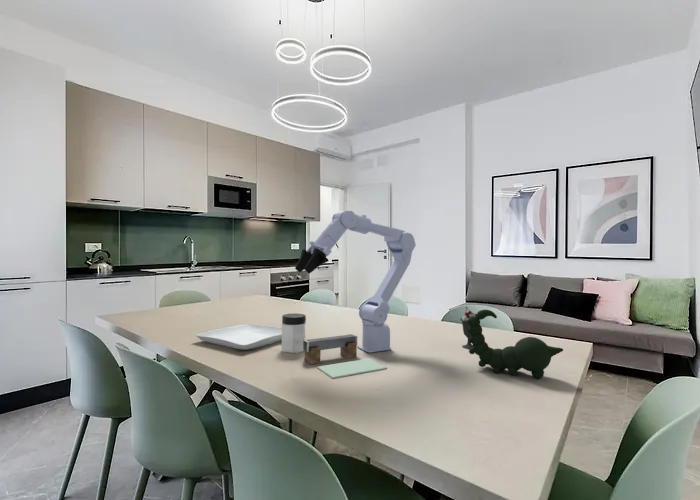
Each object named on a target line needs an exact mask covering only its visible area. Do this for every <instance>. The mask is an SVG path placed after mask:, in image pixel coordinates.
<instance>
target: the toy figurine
mask: <svg viewBox="0 0 700 500" xmlns="http://www.w3.org/2000/svg"><path fill="white" fill-rule="evenodd" d="M476 314H477V315H476V316H472V317H470V318H469V320H467V323H468V324H469V325H470V326H469V328H468V329H467V331H468V333H470V334H471V336H470V338H469V339H468V338H467V342H469V343H471V344H472V345H473V346H472V348H471V349H468V353H469V354H470V355H474V354H475V355H476V356H478V357H479V360H478V366H479V367H481V368H484V367H486V365H487V366H490V368H492V371H493V373H495V374H499V373H500V372H501V371H505V370H507V372H508V374H509V375H513V376H516V375H517V374H518V371H519V370H521V369H523V370H525V371H527V372H531V373H530V374H531V376H532V377H533V378H535V379H538V380H540V379H542V378H543V377H544V375H545V369H546V368H548V367H549V365H550V363H551V361H552V357H554V356H556V355H558V354H560V353H562V352H564V349H563V348H561V347H557V346H550V345H548V344H547V343H546V342H544V340H542V339H540V338H538V337H533V336H526V337H522V338H521V339H519V340H518V341H517V342H516V343H515V345H514V346H513V345H509V346H508V345H507V346H506V347H504V348H493V347H489V344H488V342H486V339H485V338H486V337H485V335H484V334H483V327H482V326H481V320H484V319H485V318H487V317H493V319H498V315H497V314H495V312H493V311H492V310H490V309H481V310H479V311H478V312H477V313H476Z"/></svg>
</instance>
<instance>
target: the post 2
mask: <svg viewBox="0 0 700 500" xmlns="http://www.w3.org/2000/svg"><path fill="white" fill-rule="evenodd" d="M339 349H340V353H339V354H340V355H342V356H343V357H345V358H347V359H354V358H357V356H358V355H357V354H358V353H357V352H358V351H357V349H358V342H357V343H356V342H354V343H348V347H340V348H339Z"/></svg>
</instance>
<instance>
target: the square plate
mask: <svg viewBox="0 0 700 500" xmlns="http://www.w3.org/2000/svg"><path fill="white" fill-rule="evenodd" d="M194 336H195V337H197V339H199V340H201V341H204V342H205V343H209V344H213V345H217V346H223V347H226V348H232V349H235V350H241V351H242V350H253V349H257V348H260V347H264V346H267V344H268V345H271V344H274V342H275V343H278V342H282V327H279V326H273V325H266V324H259V323H258V324H256V323H246V324H240V325H234V326H233V325H231V326H227V327H223V328H218V329H212V330H210V331H206V332H202V333H197V334H195V335H194ZM277 341H278V342H277ZM270 343H271V344H270Z"/></svg>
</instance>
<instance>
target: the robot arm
mask: <svg viewBox="0 0 700 500" xmlns="http://www.w3.org/2000/svg"><path fill="white" fill-rule="evenodd" d="M347 230H349V231H352V232H356V233H360V234H364V235H366V234H368V233H369V232H370V233H372V234H375V235H379V236H381V237H383V238H384V239H383V241H384V242H386V246H387V248H388V251H389V252H390V254H391V256H392V257H393V262H392V263H391V266H390V268H389V269H388V270H387V273H386V274H385V276H384V278H383V279H382V281H381V283H380V284H379V286H378V288H377V290H376V291H375V293H374V295H373V296H370V297H369V298H367V299H366V301H365V303H364V304H362V305H361V306H360V307H359V309H358V316H359V318H360V319H361V323H362V337H361V338H362V341H361V342H362V343H361V345H357V349H360V350H362V351H365V352H367V353H376V352H383V351H389V350H392V348H391V330H390V326H389V324H387V322H386V321H387V319H388V313H389V311H390V309H391V308H390V305H389V303H388V302H389V301H390V299H391V297H392V296H393V294H394V292H395V290H396V289H397V287H398V285H399V283H400V281H401V279H402V278H403V276H404V275H405V273H406V270H407V269H408V267H409V265H410V263H411V260H412V255H413V251H414V249H415V247H416V242H415V237H414V235H413V234H412V233H411V232H406V231H405V230H403V229H399V228H396V227H395V228H394V227H391V226H387V225H382V224H378V223H374V222H372V220H371V218H369V217H367V215H365V214H362V215H358V214H355V212H353V210H344V211H343V210H342V211H338V212H336V213H334V214H333V215H332V219H331V222H330V223H329V224H328V225H327V226H326V227H325V229H324V230H323V231H322V232H321V233H320V235H319V236H318V237H317V239H315V240H314V241H313V240H310V241H309V245H310V246H309V247H308V248H307V249H305V248H303V249H302V250H301V252H300V257H299V259H298V261H297V263H296V266H295V267H294V269H295V270H296V271H297V272H298V273H301V272H303V271H305V272H307V273H308V274H312V272H314V271H315V270H317V268H319V267H320V266H322V265H323V264H325V263H328V262H329V259H328V258H327V257H328V256H329V255H330V254H332V249H333V248H334V246H335V245H336V244H337V242H338V241H339V240H340V239H341V238H342V237H343V235H344V234H345V233H346V231H347Z"/></svg>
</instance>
